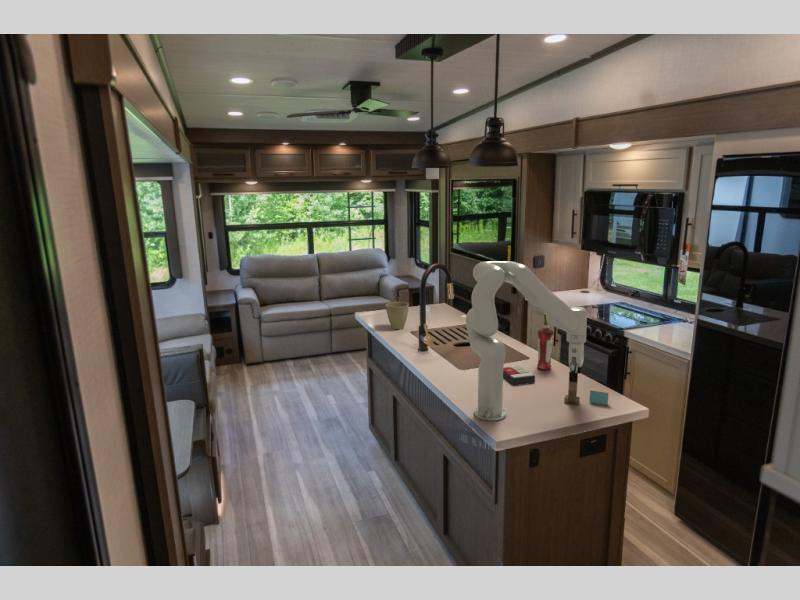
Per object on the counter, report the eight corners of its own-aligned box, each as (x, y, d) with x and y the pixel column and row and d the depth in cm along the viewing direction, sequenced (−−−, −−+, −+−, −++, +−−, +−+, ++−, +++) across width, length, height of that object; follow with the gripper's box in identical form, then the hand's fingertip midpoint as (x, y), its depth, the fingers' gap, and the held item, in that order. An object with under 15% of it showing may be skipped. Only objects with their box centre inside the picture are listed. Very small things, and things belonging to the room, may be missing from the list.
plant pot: (408, 324, 331) (408, 301, 327) (409, 331, 316) (409, 306, 313) (386, 325, 330) (385, 301, 327) (386, 331, 316) (385, 307, 312)
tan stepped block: (578, 405, 206) (580, 377, 204) (564, 403, 209) (565, 375, 206) (579, 402, 209) (581, 375, 206) (565, 400, 211) (567, 373, 209)
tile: (607, 405, 206) (608, 393, 204) (589, 402, 209) (590, 390, 207) (607, 403, 207) (608, 391, 206) (589, 401, 210) (590, 388, 209)
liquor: (539, 364, 253) (541, 310, 247) (553, 367, 249) (556, 312, 243) (534, 369, 247) (536, 314, 241) (548, 372, 243) (551, 316, 237)
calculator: (519, 365, 244) (535, 374, 230) (519, 373, 245) (535, 383, 231) (498, 367, 242) (513, 376, 227) (498, 376, 242) (513, 386, 228)
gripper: (583, 344, 193) (581, 386, 197) (588, 332, 208) (587, 371, 212) (563, 342, 197) (562, 383, 201) (569, 330, 212) (568, 368, 216)
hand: (574, 377), depth 207 cm, fingers open, 9 cm apart
